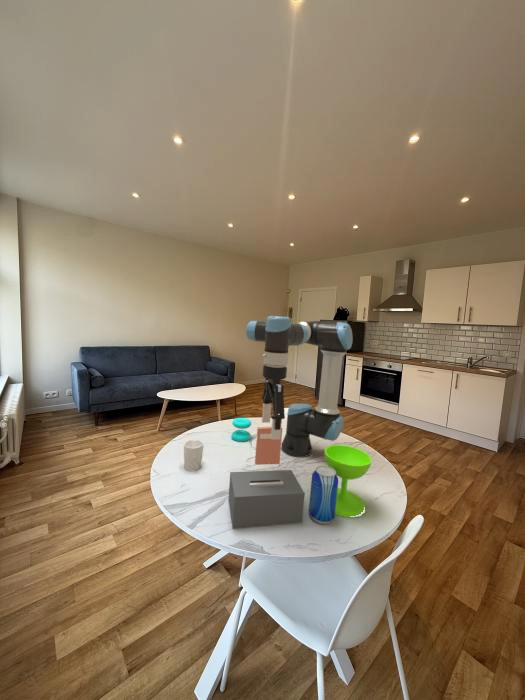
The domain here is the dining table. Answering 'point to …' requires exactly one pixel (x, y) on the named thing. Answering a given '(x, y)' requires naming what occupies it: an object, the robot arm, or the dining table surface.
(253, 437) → the dining table surface
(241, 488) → the dispenser
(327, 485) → the beer can
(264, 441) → the ticket
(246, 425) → the donuts
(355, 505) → the wineglass
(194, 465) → the white cup
